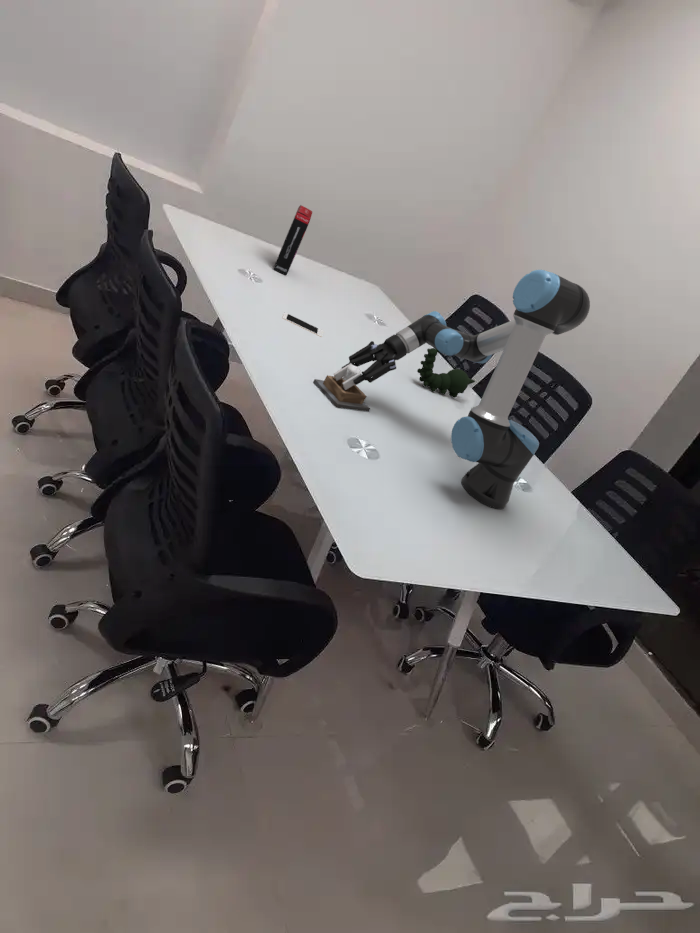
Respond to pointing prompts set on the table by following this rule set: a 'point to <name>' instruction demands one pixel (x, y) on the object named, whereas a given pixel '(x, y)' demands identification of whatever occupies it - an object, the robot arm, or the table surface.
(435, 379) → the toy figurine
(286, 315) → the cell phone
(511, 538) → the table surface
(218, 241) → the table surface
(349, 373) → the milkshake
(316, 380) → the socket board
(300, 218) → the graphics card box
